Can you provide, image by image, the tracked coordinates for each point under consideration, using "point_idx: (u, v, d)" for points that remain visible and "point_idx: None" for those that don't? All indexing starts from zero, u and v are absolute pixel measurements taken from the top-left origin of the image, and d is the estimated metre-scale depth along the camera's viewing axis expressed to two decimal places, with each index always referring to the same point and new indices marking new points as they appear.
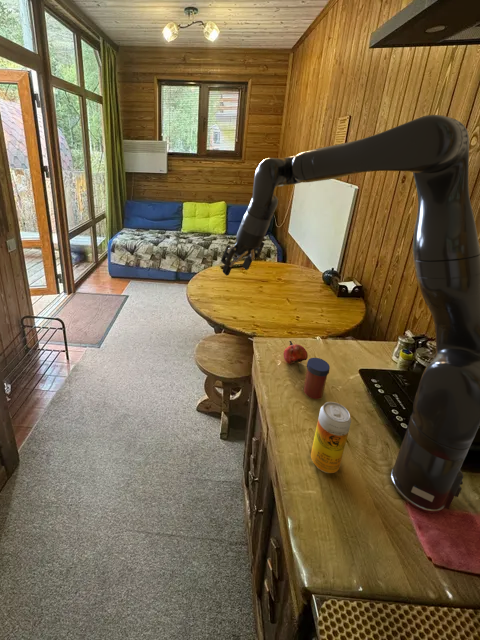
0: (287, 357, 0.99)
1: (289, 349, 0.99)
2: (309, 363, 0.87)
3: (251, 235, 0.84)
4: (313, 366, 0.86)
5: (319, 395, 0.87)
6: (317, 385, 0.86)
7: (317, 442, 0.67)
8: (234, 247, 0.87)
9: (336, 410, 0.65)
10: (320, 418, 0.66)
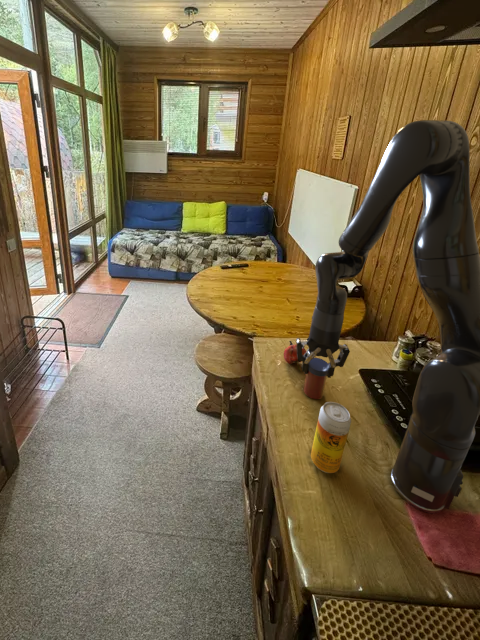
0: (287, 357, 0.99)
1: (289, 349, 0.99)
2: (309, 363, 0.87)
3: (316, 328, 0.81)
4: (313, 366, 0.86)
5: (319, 395, 0.87)
6: (317, 385, 0.86)
7: (317, 442, 0.67)
8: (303, 341, 0.85)
9: (336, 410, 0.65)
10: (320, 418, 0.66)
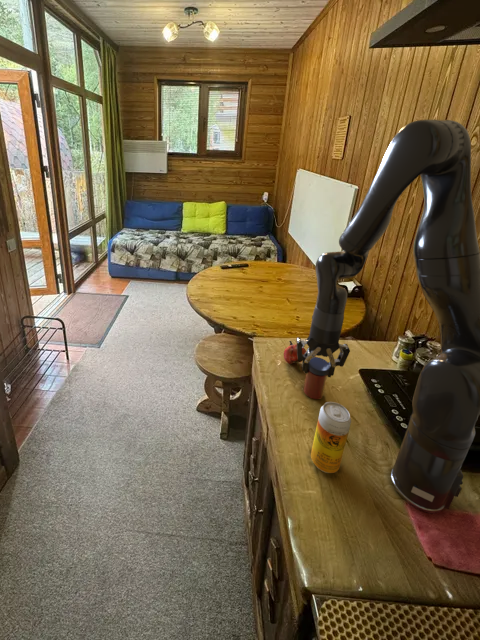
0: (287, 357, 0.99)
1: (289, 349, 0.99)
2: (320, 369, 0.84)
3: (316, 328, 0.81)
4: (324, 368, 0.85)
5: (319, 395, 0.87)
6: (317, 385, 0.86)
7: (317, 442, 0.67)
8: (303, 340, 0.85)
9: (336, 410, 0.65)
10: (320, 418, 0.66)
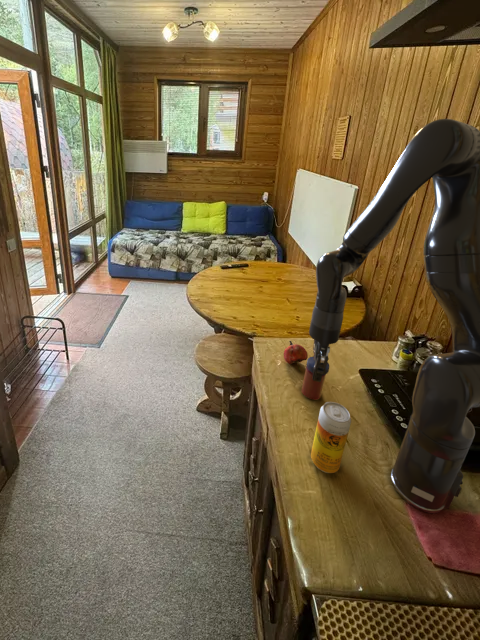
0: (287, 357, 0.99)
1: (289, 349, 0.99)
2: (327, 365, 0.86)
3: (336, 331, 0.79)
4: None
5: (318, 395, 0.87)
6: (317, 386, 0.86)
7: (317, 442, 0.67)
8: (323, 353, 0.80)
9: (336, 410, 0.65)
10: (320, 418, 0.66)
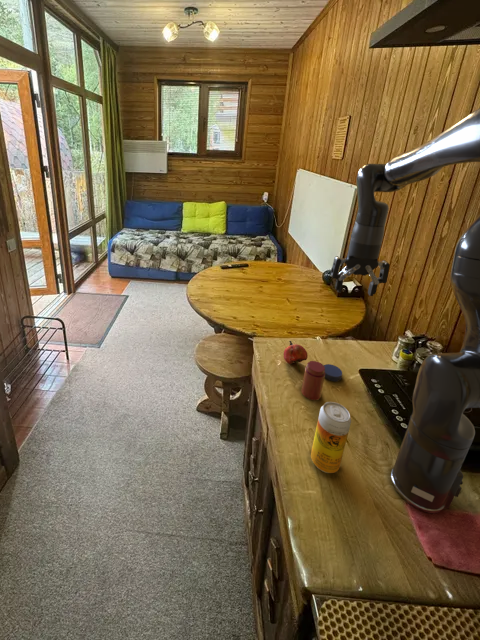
0: (287, 357, 0.99)
1: (289, 349, 0.99)
2: (333, 375, 0.94)
3: (357, 243, 0.82)
4: (337, 374, 0.95)
5: (318, 396, 0.87)
6: (317, 386, 0.86)
7: (317, 442, 0.67)
8: (342, 258, 0.87)
9: (336, 410, 0.65)
10: (320, 418, 0.66)
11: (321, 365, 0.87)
